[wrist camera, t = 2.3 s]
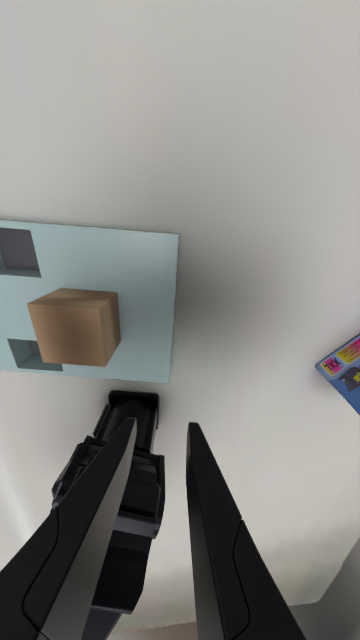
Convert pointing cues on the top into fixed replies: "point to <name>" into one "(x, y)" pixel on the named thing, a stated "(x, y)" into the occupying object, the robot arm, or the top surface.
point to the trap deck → (90, 274)
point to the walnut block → (76, 326)
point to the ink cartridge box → (344, 371)
